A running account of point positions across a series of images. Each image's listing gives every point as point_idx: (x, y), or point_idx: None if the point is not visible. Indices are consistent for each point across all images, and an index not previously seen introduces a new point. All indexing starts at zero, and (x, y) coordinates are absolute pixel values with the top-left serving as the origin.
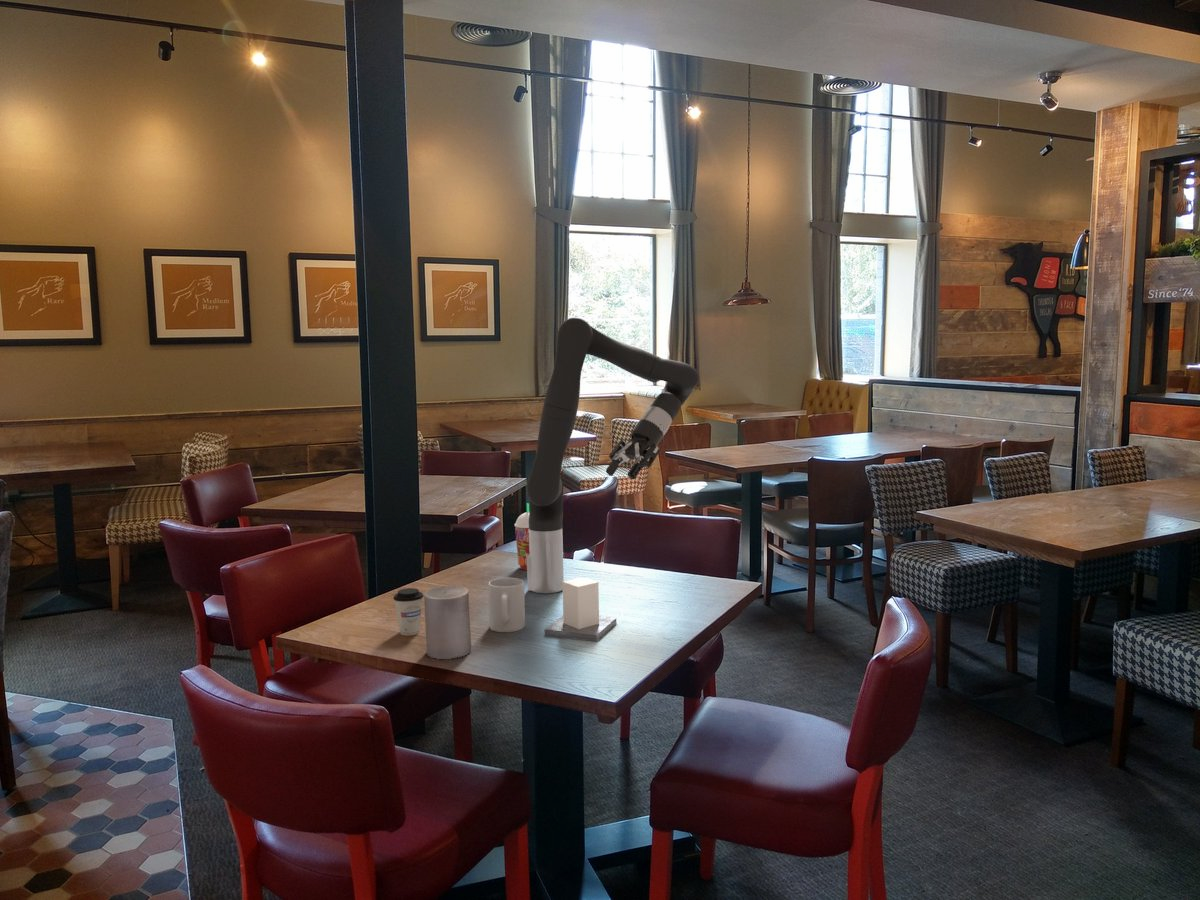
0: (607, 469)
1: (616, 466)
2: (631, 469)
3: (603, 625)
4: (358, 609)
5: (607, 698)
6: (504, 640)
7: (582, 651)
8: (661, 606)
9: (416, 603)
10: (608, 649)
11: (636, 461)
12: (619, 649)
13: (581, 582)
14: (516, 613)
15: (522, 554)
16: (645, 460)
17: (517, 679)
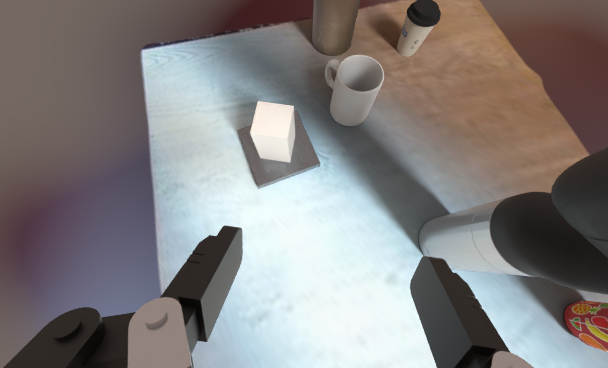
0: (437, 262)
1: (440, 348)
2: (216, 249)
3: (251, 156)
4: (513, 56)
5: (150, 51)
6: (317, 84)
7: (233, 106)
8: (255, 286)
9: (406, 18)
10: (214, 124)
11: (175, 311)
12: (205, 131)
13: (268, 118)
14: (332, 94)
15: (604, 304)
16: (53, 323)
17: (236, 37)
